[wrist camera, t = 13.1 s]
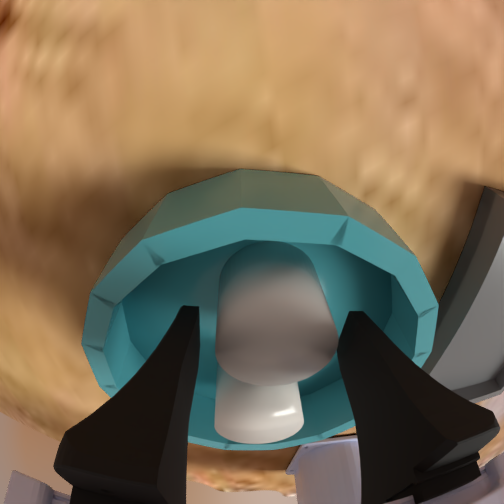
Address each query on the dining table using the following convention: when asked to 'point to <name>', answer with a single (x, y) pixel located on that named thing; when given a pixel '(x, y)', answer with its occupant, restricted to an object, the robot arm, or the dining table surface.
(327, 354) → the stone
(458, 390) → the tray
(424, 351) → the bowl
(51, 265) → the dining table surface
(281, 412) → the stone
